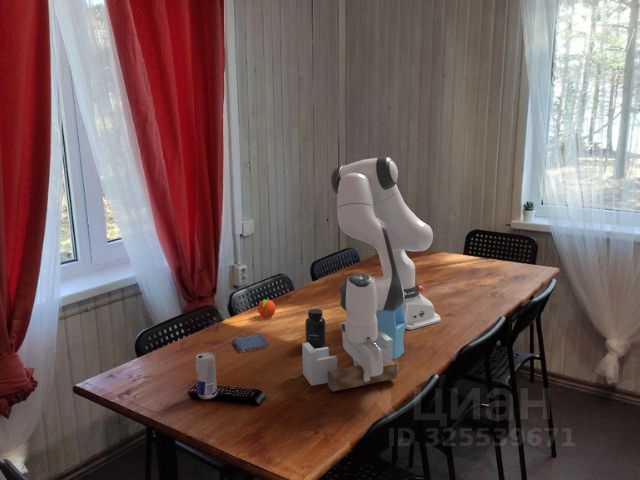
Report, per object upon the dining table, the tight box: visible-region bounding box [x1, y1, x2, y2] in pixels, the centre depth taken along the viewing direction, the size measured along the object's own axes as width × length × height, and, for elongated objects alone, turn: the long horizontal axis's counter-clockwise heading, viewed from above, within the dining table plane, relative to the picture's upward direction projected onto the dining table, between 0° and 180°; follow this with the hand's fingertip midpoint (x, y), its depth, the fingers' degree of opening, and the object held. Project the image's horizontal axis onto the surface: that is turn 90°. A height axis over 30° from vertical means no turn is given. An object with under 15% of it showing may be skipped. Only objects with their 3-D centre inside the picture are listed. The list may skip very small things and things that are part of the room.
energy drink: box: [194, 351, 218, 400], centre depth 159 cm, size 5×5×12 cm
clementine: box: [257, 299, 277, 318], centre depth 219 cm, size 8×7×7 cm
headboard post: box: [374, 330, 394, 361], centre depth 174 cm, size 8×8×10 cm
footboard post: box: [301, 342, 338, 386], centre depth 168 cm, size 8×8×10 cm
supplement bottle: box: [304, 308, 326, 349], centre depth 192 cm, size 7×7×12 cm
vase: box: [376, 292, 406, 360], centre depth 183 cm, size 8×8×20 cm
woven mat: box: [232, 333, 270, 354], centre depth 194 cm, size 10×11×2 cm
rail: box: [327, 359, 398, 392], centre depth 162 cm, size 20×4×4 cm, turn 110°
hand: (362, 376), depth 162 cm, fingers closed on rail, 3 cm apart
